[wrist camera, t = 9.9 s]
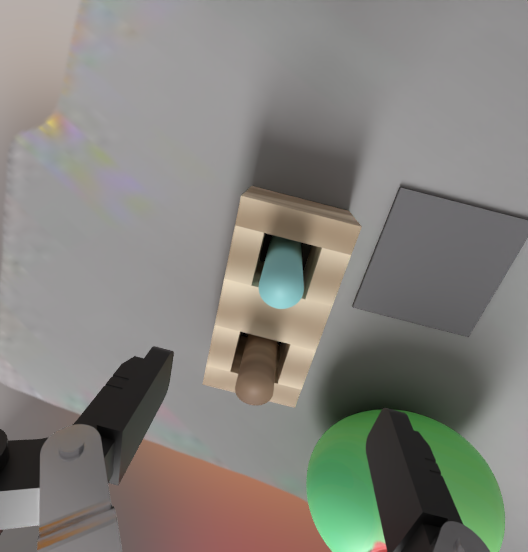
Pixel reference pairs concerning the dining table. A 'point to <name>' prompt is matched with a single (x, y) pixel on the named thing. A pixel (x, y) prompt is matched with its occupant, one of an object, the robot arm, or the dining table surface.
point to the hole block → (260, 316)
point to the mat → (439, 262)
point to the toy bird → (360, 493)
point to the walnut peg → (257, 370)
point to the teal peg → (282, 274)
